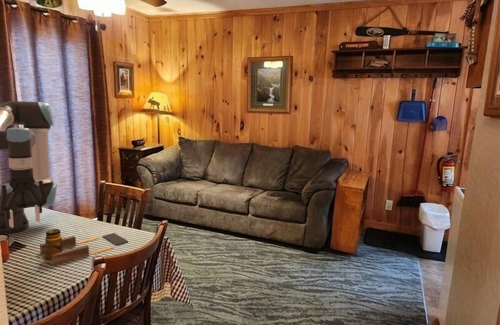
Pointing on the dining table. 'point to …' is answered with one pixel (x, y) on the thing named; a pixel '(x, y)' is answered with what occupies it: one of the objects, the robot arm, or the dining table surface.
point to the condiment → (52, 244)
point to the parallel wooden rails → (68, 254)
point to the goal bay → (97, 250)
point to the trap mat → (115, 239)
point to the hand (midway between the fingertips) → (25, 223)
